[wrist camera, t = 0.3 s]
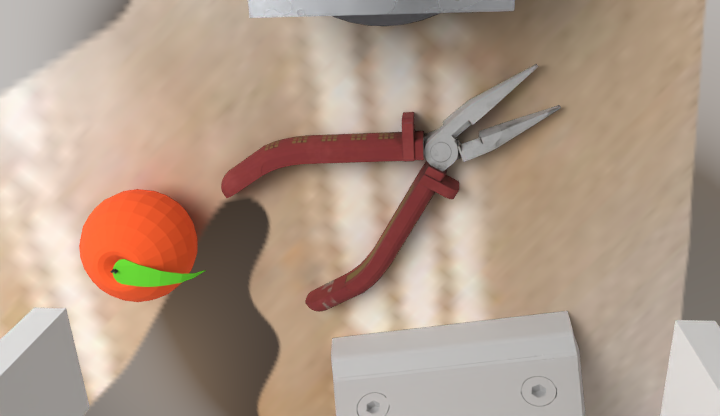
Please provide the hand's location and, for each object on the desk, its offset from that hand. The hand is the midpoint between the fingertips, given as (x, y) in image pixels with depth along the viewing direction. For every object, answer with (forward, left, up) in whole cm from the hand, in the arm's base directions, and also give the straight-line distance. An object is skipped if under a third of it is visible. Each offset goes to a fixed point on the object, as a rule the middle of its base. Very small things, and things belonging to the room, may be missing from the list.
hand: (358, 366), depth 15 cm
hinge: (+20, +3, -28) cm, 34 cm away
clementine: (+9, -16, -27) cm, 33 cm away
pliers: (+7, -1, -28) cm, 29 cm away
